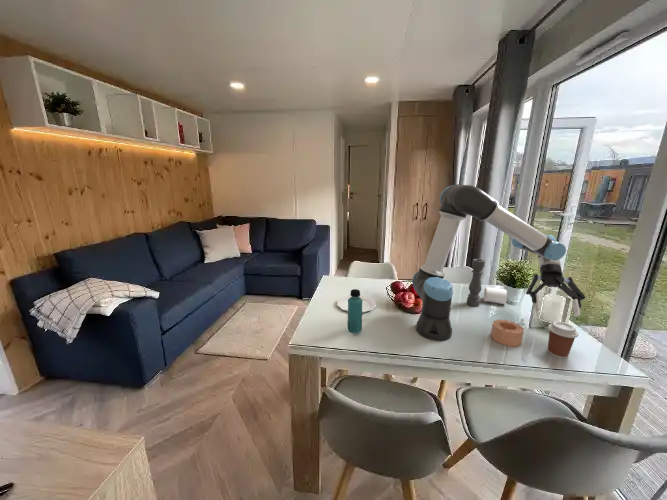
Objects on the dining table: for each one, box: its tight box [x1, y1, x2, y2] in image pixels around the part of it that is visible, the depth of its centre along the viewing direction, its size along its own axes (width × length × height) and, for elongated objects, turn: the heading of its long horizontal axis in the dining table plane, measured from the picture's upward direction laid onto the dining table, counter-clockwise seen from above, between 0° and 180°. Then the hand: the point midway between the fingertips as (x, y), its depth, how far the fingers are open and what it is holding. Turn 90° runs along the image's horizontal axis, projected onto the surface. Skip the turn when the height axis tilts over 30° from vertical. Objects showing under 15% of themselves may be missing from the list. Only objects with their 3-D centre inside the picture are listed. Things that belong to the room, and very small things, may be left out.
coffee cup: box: [547, 320, 579, 359], centre depth 108 cm, size 9×9×12 cm
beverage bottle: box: [346, 288, 363, 334], centre depth 121 cm, size 6×7×20 cm
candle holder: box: [466, 258, 486, 308], centre depth 149 cm, size 6×6×25 cm
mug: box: [483, 286, 508, 305], centre depth 156 cm, size 12×10×8 cm
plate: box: [336, 295, 377, 313], centre depth 150 cm, size 21×21×2 cm
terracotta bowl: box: [490, 319, 525, 347], centre depth 118 cm, size 11×11×6 cm
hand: (557, 312), depth 114 cm, fingers open, 13 cm apart
